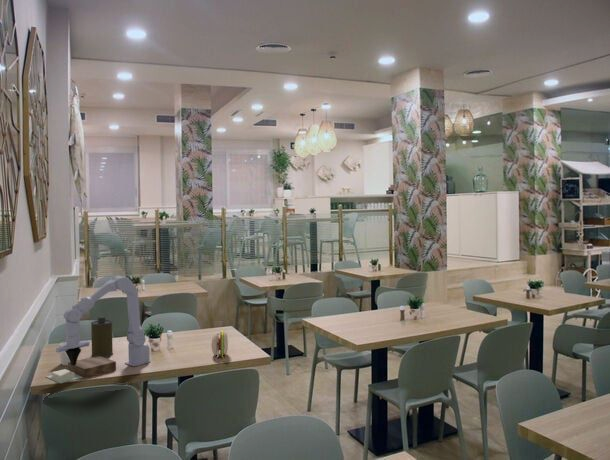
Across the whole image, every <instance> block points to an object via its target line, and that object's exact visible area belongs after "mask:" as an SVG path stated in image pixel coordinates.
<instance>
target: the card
mask: <svg viewBox="0 0 610 460" xmlns="http://www.w3.org/2000/svg"><path fill="white" fill-rule="evenodd" d="M51 375H52V377H54V378H56V379H58V380H61V381H62V380H66V379H70V378H74V377H75V373H74V372H71V371H69V370H68V369H66V368H64V369H60V370H56V371H55V370H54V371H51Z"/></svg>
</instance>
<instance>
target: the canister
mask: <svg viewBox="0 0 610 460" xmlns="http://www.w3.org/2000/svg"><path fill="white" fill-rule="evenodd" d="M90 327H91V331H90V332H91V356H90V357H95V356H101V357H104V358H110V357H113V355H114V353H113V351H114V350H113V320H111V319H110V320H109V319H106V317H105V316H104V315H103V316H98V317H97V320H94V321H91V322H90Z"/></svg>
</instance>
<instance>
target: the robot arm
mask: <svg viewBox="0 0 610 460" xmlns="http://www.w3.org/2000/svg"><path fill="white" fill-rule="evenodd" d="M118 290H119V291H121V292H122V293H123V294H125V295H126V302H127V303H126V304H127V305H126V306H127V313H128V314H127V315H128V316H127V317H128V325H129V326H128V328H127V334H126V341H127V342H128V345H127V346H128V350H127V351H128V361H126V362H124V364H125V365H129V366H132V367H136V366H137V367H138V366H141V365H144V364H149V363H151V359H150V357H151V356H150V352H151V351H150V346H149V345H148V343H146V339H147V338H146V335H145V333H144V330H143V328H142V326H141V325H142V324H141V317H140V314H141V313H140V303H139V293H138V290H139V289H138V288H137V287H136V286H135V284H134V283H133V282H132V279H130V278H127V277H125V276H124V277H123V276H121V275H115V276H113V277H112V278H110V279H109V280H107V281H106V282H105V283H104V284H103V285H102V286H101V287H100V288H98V289H97V290H96V291H95V292H94V293H93V294H92V295H90V296H84V297H81V298H80V301H79V302H77V303H76V304H75V305H72V306H71V308H68V309H66V311H65V312H64V315H63V317H64V319H65V342H66V345H64V346H61V347H60V346H57V347H56V348H55V352H56V353H59V354H60V352H61V351H65V352H66V353H67V355H68V357H69V359H70V363H71V365H76V362H77V360H78V358H79V355H80V353H81V352H82V348H85V347H90V341H81V338H80V337H81V336H80V335H81V334H80V332H81V331H80V330H81V329H80V320H81V318H82V316H84V315H85V314H86V313H87V312H89V311H90V310H91V309H92V308H94V306H95V303H97V301H98V300H101V298H103V297H104V296H105V295H107V294H108V293H109V292H117V291H118Z"/></svg>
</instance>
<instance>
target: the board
mask: <svg viewBox="0 0 610 460" xmlns="http://www.w3.org/2000/svg"><path fill="white" fill-rule="evenodd" d="M67 370H69V371H71V372H74V373H75V374H77V375H79V376H81V377H83V378H85V379H86V378H90V377H94V376H98V375H102V374H106V373H109V372H113V371H116V370H117V361H115V360H113V359H111V358H110V359H109V358H108V357H105V358H104V357H101V356H95V357H92V356H90V357H86V358H83V359H82V358H81V359H77V362H76V365H71V363H70V362H68V365H67Z"/></svg>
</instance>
